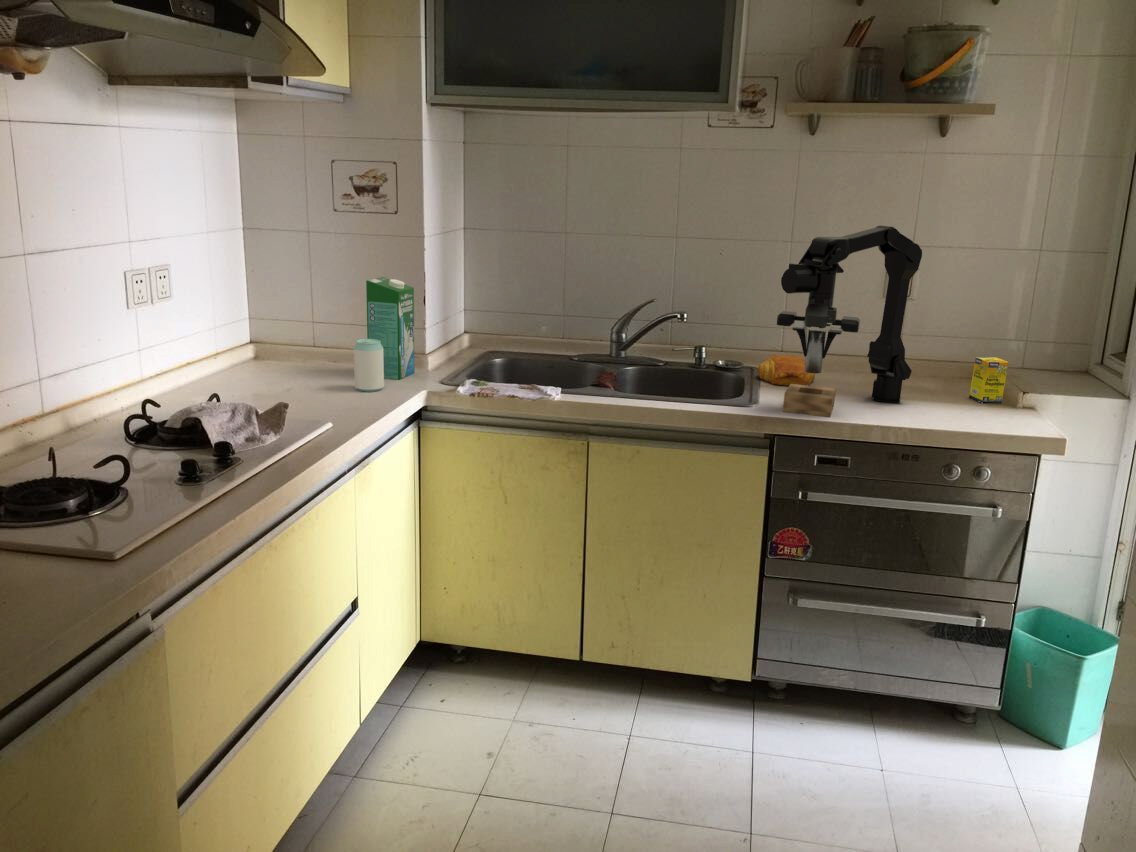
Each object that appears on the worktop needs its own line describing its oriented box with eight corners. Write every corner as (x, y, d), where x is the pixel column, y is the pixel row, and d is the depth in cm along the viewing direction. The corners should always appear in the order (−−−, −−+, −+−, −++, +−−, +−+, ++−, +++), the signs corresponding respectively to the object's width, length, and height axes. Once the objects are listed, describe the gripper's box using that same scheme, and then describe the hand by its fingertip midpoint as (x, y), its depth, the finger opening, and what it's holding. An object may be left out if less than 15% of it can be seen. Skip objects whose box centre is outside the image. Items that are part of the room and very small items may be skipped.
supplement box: (981, 403, 245) (988, 361, 242) (968, 397, 250) (974, 356, 247) (1002, 403, 246) (1009, 361, 243) (989, 397, 251) (995, 356, 248)
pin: (822, 370, 231) (826, 329, 228) (820, 374, 228) (825, 332, 225) (805, 369, 232) (809, 328, 230) (803, 372, 229) (807, 330, 226)
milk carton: (399, 380, 246) (398, 282, 239) (367, 376, 248) (365, 279, 241) (414, 372, 254) (414, 278, 247) (383, 369, 256) (382, 276, 249)
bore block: (833, 406, 236) (835, 388, 235) (829, 417, 226) (832, 398, 225) (788, 401, 239) (790, 383, 238) (782, 411, 229) (784, 393, 228)
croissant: (757, 381, 270) (756, 353, 268) (814, 377, 267) (813, 349, 265) (759, 391, 256) (757, 362, 254) (819, 388, 253) (817, 358, 252)
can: (379, 393, 232) (379, 344, 229) (351, 391, 232) (350, 342, 229) (387, 386, 239) (386, 338, 235) (359, 384, 239) (358, 337, 236)
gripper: (776, 293, 220) (770, 359, 225) (860, 299, 215) (852, 367, 219) (783, 287, 231) (776, 351, 235) (863, 293, 225) (855, 359, 229)
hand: (814, 357), depth 229 cm, fingers closed on pin, 4 cm apart
